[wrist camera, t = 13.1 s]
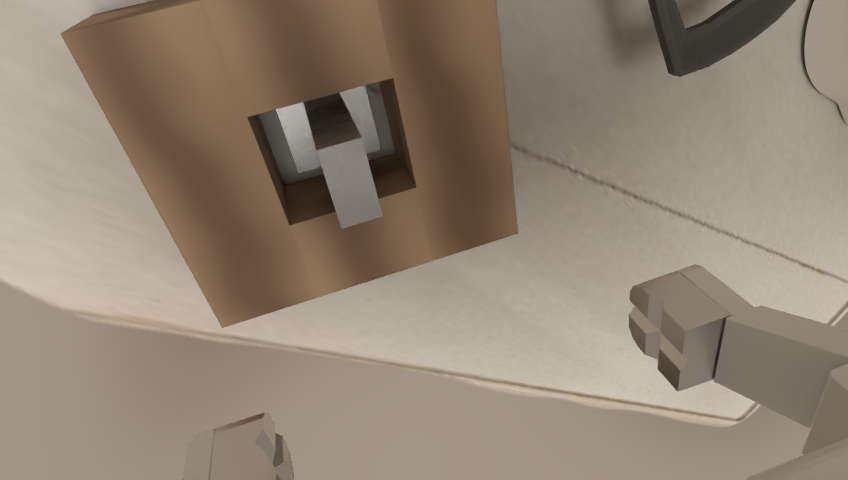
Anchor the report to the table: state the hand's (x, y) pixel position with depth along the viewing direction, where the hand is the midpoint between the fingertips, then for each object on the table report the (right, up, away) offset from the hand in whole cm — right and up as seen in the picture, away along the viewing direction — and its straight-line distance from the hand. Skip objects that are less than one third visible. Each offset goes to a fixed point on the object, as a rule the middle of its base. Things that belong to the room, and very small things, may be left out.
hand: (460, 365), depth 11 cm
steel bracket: (-6, +9, +19) cm, 22 cm away
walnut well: (-6, +9, +19) cm, 22 cm away
